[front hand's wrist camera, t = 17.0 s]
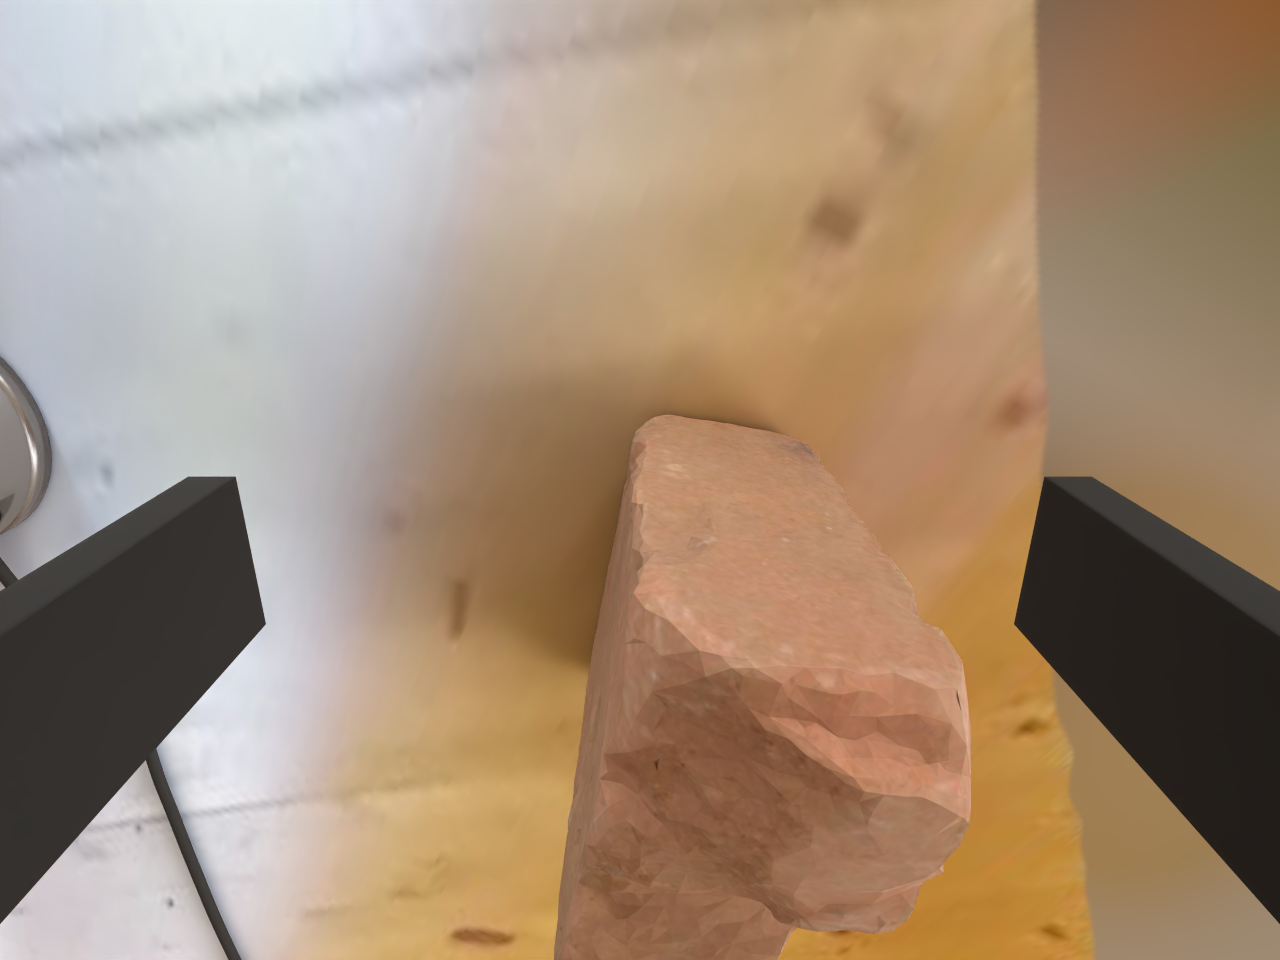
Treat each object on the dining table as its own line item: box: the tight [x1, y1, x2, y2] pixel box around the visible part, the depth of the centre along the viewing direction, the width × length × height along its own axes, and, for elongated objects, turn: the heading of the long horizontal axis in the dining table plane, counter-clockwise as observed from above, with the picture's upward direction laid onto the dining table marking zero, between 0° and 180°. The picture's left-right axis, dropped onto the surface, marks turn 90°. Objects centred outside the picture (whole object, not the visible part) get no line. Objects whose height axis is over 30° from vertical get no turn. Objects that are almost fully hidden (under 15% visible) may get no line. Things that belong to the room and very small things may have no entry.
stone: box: [554, 414, 971, 960], centre depth 37 cm, size 22×11×28 cm, turn 170°
